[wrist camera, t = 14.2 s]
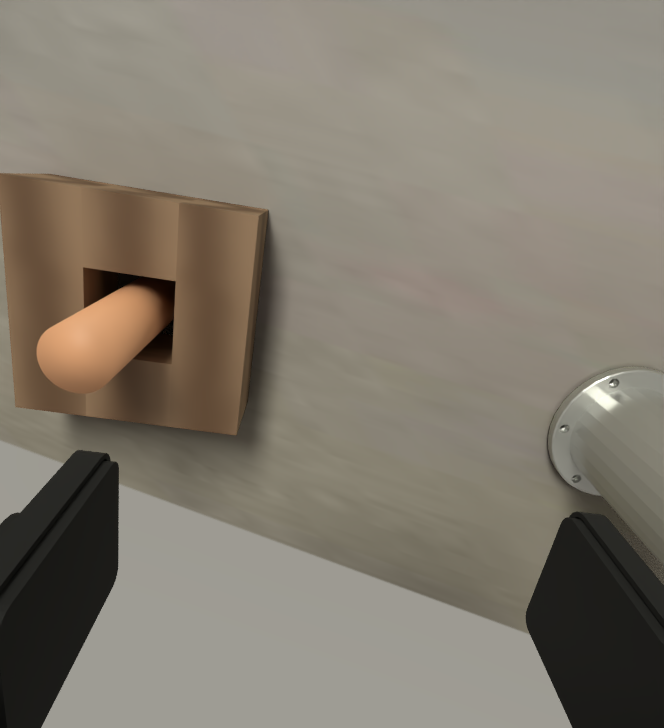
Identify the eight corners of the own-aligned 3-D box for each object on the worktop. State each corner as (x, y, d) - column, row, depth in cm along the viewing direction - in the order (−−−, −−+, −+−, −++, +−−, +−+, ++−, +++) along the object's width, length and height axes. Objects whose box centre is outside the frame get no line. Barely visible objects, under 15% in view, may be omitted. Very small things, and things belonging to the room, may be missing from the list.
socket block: (268, 209, 37) (258, 215, 31) (247, 401, 42) (236, 435, 37) (48, 173, 36) (-3, 173, 30) (57, 375, 41) (15, 406, 36)
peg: (184, 276, 38) (114, 329, 25) (182, 325, 40) (113, 398, 27) (132, 268, 38) (34, 317, 25) (132, 318, 40) (38, 388, 26)
